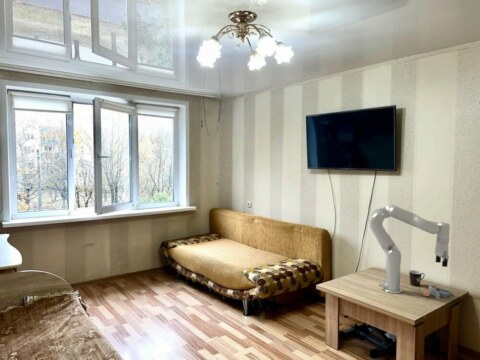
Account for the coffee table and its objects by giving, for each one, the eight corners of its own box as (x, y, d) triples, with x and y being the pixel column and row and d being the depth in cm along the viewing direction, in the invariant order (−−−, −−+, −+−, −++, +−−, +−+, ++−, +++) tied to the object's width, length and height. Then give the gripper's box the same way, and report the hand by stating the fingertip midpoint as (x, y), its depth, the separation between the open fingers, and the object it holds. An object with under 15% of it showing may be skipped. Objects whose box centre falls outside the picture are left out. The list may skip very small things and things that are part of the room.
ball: (423, 297, 238) (423, 290, 238) (420, 294, 243) (421, 287, 243) (431, 297, 237) (431, 290, 237) (428, 295, 242) (428, 288, 242)
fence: (436, 299, 235) (436, 293, 235) (427, 290, 251) (427, 285, 250) (440, 299, 235) (440, 293, 235) (431, 290, 250) (431, 285, 250)
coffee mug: (410, 286, 259) (410, 273, 258) (407, 282, 267) (407, 269, 267) (427, 287, 256) (427, 274, 256) (423, 283, 265) (424, 271, 264)
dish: (445, 297, 238) (445, 294, 238) (431, 293, 246) (431, 290, 245) (451, 294, 244) (451, 291, 243) (437, 290, 251) (437, 287, 251)
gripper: (431, 237, 249) (430, 260, 250) (442, 243, 232) (441, 268, 233) (442, 237, 248) (441, 261, 249) (454, 243, 231) (453, 268, 232)
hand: (441, 264), depth 241 cm, fingers open, 9 cm apart
